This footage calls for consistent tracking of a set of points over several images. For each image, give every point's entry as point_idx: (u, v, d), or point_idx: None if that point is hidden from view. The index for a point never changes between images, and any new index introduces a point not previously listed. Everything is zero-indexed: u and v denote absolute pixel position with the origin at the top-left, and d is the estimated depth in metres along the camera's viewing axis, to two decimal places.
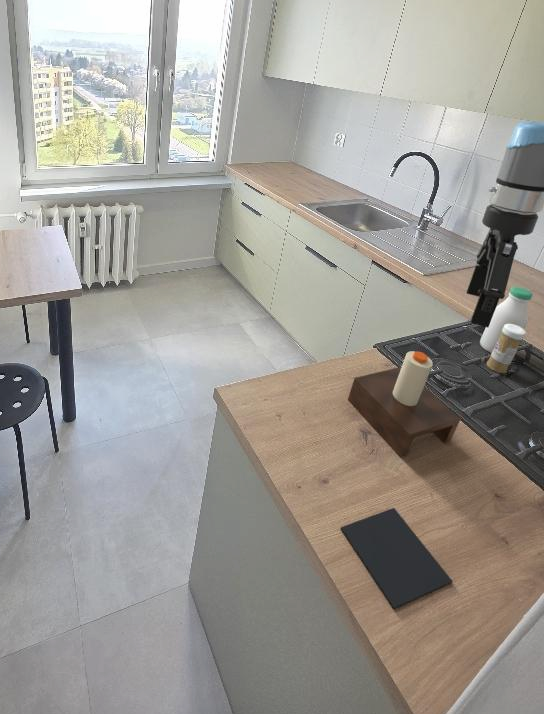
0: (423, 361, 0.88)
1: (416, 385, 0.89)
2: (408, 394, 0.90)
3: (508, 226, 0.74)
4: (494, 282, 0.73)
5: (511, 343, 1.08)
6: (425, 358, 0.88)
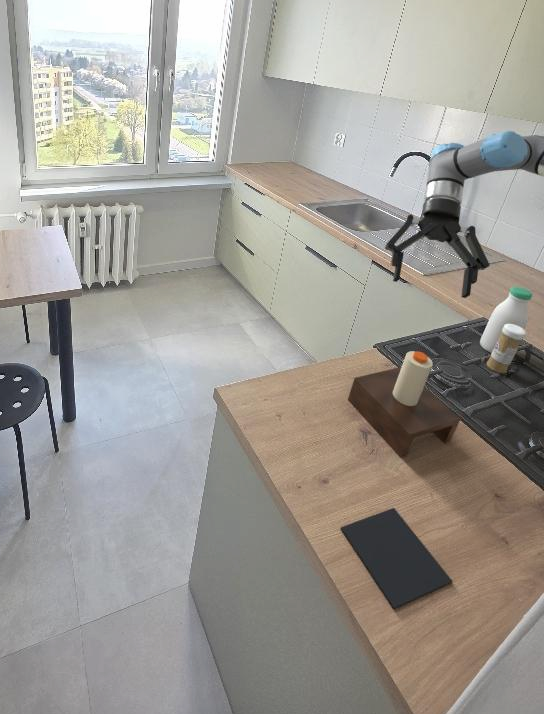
0: (423, 361, 0.88)
1: (416, 385, 0.89)
2: (408, 394, 0.90)
3: (422, 210, 1.00)
4: None
5: (511, 343, 1.08)
6: (425, 358, 0.88)
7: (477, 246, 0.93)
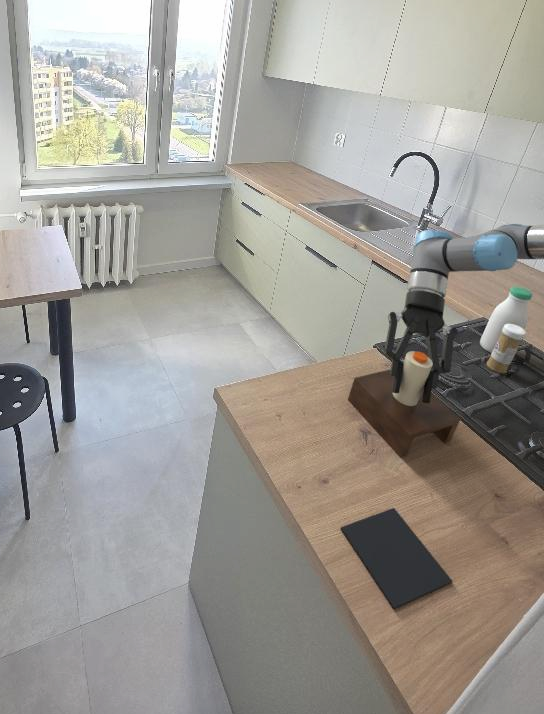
0: (423, 361, 0.88)
1: (417, 385, 0.89)
2: (408, 394, 0.90)
3: (405, 301, 0.97)
4: (385, 344, 0.95)
5: (511, 343, 1.08)
6: (425, 358, 0.88)
7: (448, 349, 0.90)
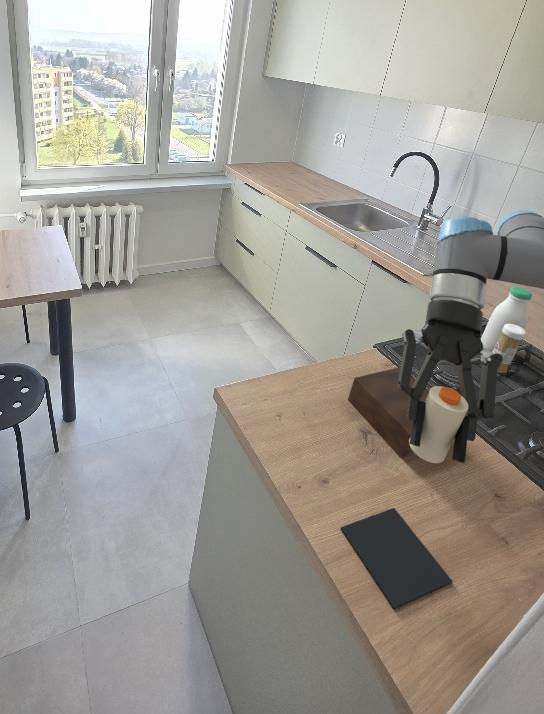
0: (455, 402, 0.61)
1: (445, 436, 0.62)
2: (432, 447, 0.64)
3: None
4: (399, 374, 0.68)
5: (511, 343, 1.08)
6: (458, 398, 0.61)
7: (490, 384, 0.63)
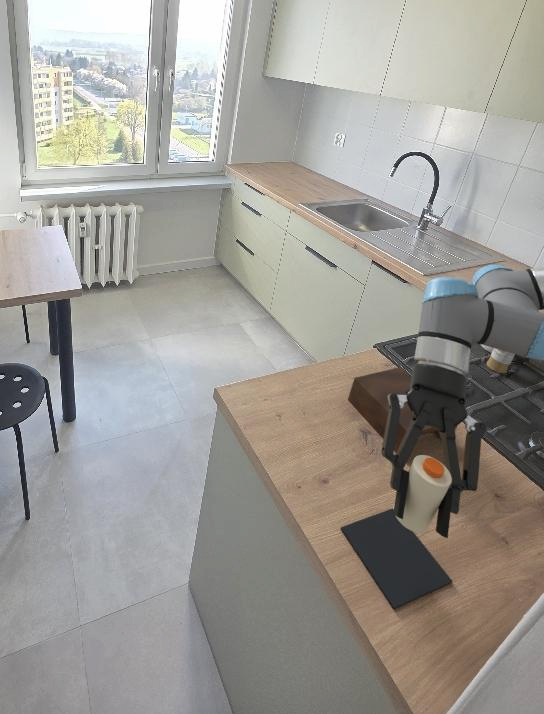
0: (438, 476, 0.61)
1: (428, 508, 0.62)
2: (416, 518, 0.63)
3: None
4: (384, 440, 0.68)
5: None
6: (441, 471, 0.61)
7: (474, 455, 0.62)
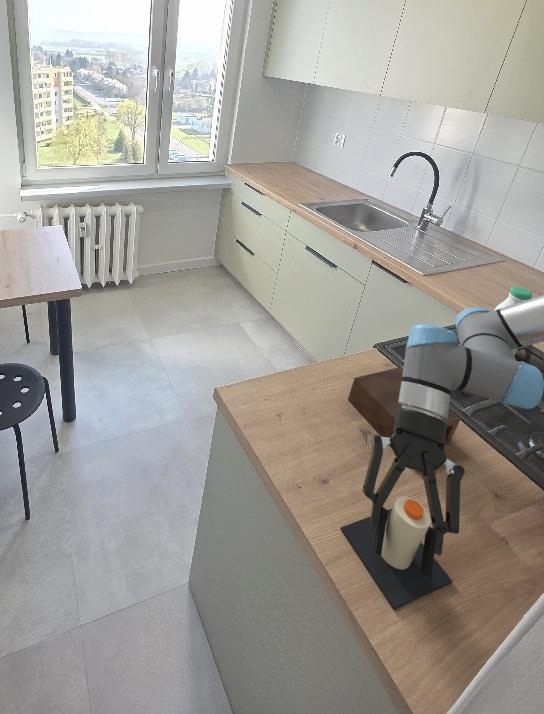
0: (418, 518, 0.65)
1: (409, 547, 0.66)
2: (398, 556, 0.67)
3: (395, 420, 0.74)
4: (365, 478, 0.72)
5: None
6: (420, 513, 0.65)
7: (454, 498, 0.66)
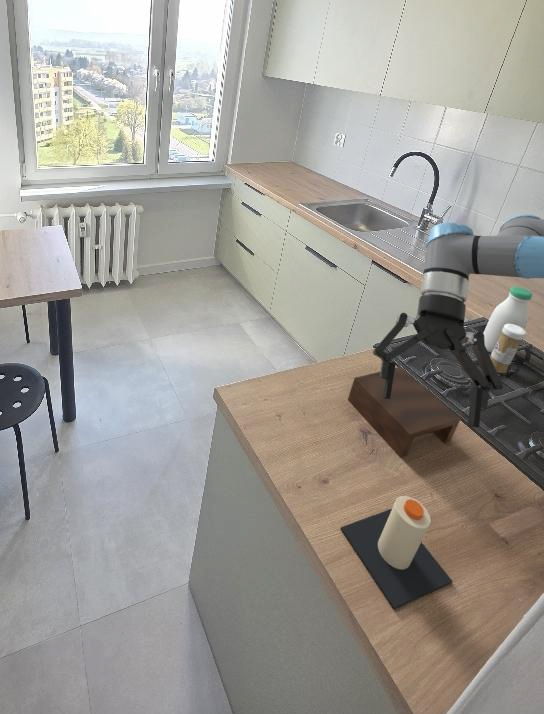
0: (418, 518, 0.65)
1: (409, 547, 0.66)
2: (398, 556, 0.67)
3: (418, 306, 0.82)
4: (380, 342, 0.81)
5: (511, 343, 1.08)
6: (420, 513, 0.65)
7: (487, 360, 0.74)
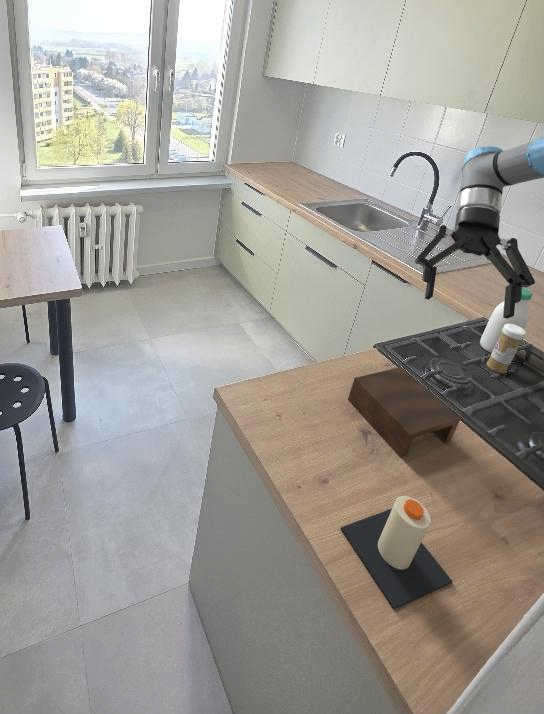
0: (418, 518, 0.65)
1: (409, 547, 0.66)
2: (398, 556, 0.67)
3: None
4: None
5: (511, 343, 1.08)
6: (420, 513, 0.65)
7: (520, 261, 0.83)
